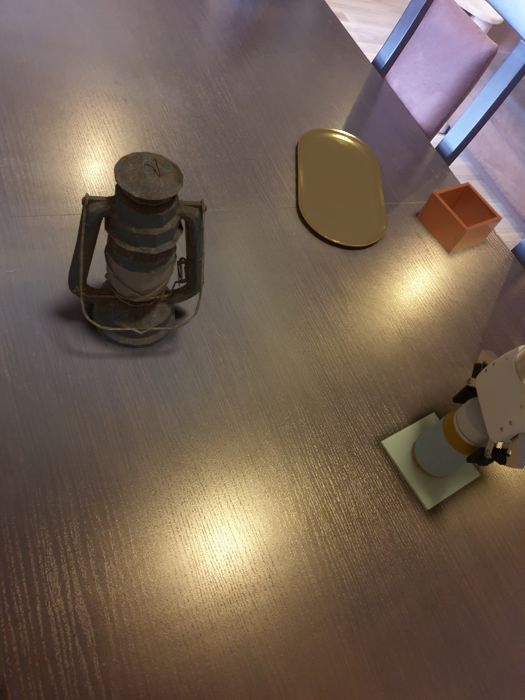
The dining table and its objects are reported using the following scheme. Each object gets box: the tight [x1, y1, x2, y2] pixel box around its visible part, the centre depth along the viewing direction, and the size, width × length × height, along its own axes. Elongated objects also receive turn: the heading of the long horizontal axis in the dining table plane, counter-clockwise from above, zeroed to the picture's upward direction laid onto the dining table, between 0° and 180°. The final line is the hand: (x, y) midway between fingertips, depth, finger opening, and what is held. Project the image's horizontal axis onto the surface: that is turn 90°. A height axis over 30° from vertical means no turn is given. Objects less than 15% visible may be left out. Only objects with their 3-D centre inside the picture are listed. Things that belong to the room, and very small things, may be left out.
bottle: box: [413, 397, 490, 478], centre depth 82 cm, size 7×7×15 cm
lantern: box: [67, 151, 208, 350], centre depth 77 cm, size 19×14×30 cm
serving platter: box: [297, 127, 388, 248], centre depth 118 cm, size 19×35×2 cm, turn 179°
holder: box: [416, 181, 503, 255], centre depth 118 cm, size 11×11×7 cm
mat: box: [379, 412, 481, 512], centre depth 89 cm, size 12×12×1 cm
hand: (468, 430), depth 80 cm, fingers open, 8 cm apart
